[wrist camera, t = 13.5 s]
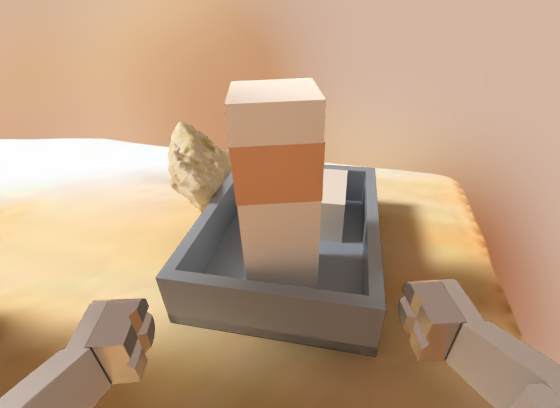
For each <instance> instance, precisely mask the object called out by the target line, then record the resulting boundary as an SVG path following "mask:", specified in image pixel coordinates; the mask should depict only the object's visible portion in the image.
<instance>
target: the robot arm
mask: <svg viewBox="0 0 560 408" xmlns="http://www.w3.org/2000/svg"><path fill="white" fill-rule="evenodd" d="M402 291H403V293H404V295H405V296H403V297H402V298H401V299H400V300H399V305H398V313H399V318H400V322H401V325H402V327H403V329H404V330H405V331H406V332H408V333H409V334H410V335H411V337H410V340H409V343H410V345H411V348H412V350H413V352H414V354H415V357H416V359H417V361H418V362H428V361H446V363H447V364H448V365H449V366H450V367H451V368H452V369H453V370H454V371H455V372H456V373H457V374H458V375H459V376H461V377H462V378H463V379H464V380H465V381H466V382H467V383H468V384H469V385H470V386H471V387H472V388H473V389H474V390H475V391H477V392H478V393H479V394H480V395H481V396H482V397H483V398H484V399H485V400H486V401H487V402H488V403H489V404H490V405H492V406H493V407H494V408H560V365H559V364H557V363H555V362H554V361H552V360H551V359H549V358H547V357H546V356H544V355H543V354H541V353H540V352H538V351H536V350H535V349H533V348H532V347H530V346H529V345H527V344H525V343H524V342H522V341H521V340H519V339H518V338H516V337H514V336H513V335H511V334H510V333H508V332H507V331H505V330H503V329H502V328H500V327H499V326H497V325H495V324H494V323H492V322H491V321H485V320H484V318H483V317H482V316H481V314H480V313H479V311H478V310H477V309H476V307H475V306H474V304H473V303H472V301H471V300H470V299H469V297H468V296H467V294H466V293H465V291H464V290H463V289H462V287H461V286H460V284H459V283H458V282H457V281H456V280H455V279H441V280H424V281H411V282H406V283H405V284H404V286H403V289H402ZM148 307H149V305H148V303H147V301H146V299H117V300H97V301H93V302H92V303H91V304H89V306H88V308H87V309H86V311H85V313H84V315H83V317H82V319H81V320H80V322H79V324H78V326H77V328H76V330H75V332H74V333H73V335H72V337H71V339H70V341H69V343H68V345H67V346H66V348H65V350H59V351H58V352H57V353H55V354H54V355H53V356H52V357H50V358H49V359H48V360H47V361H45V362H44V363H43V364H42V365H40V366H39V367H38V368H37V369H35V370H34V371H33V372H32V373H30V374H29V375H28V376H27V377H25V378H24V379H23V380H22V381H20V382H19V383H18V384H17V385H15V386H14V387H13V388H12V389H10V390H9V391H8V392H7V393H5V394H4V395H3V396H2V397H0V408H94V407H95V405H96V404H97V403H98V402H99V401H100V400H101V398H102V397H103V396H104V395H105V394H106V392H107V391H108V390H109V389H110V388H111V387H112V384H122V383H132V382H141V380H142V377H143V373H144V370H145V367H146V363H147V358H146V355H145V352H146V351H147V350H148V349H149V348H150V347H151V346H152V343H153V339H154V332H155V324H154V319H153V316H152V315H151V314H149V313H148V312H147V310H148Z"/></svg>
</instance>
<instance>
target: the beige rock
mask: <svg viewBox="0 0 560 408" xmlns="http://www.w3.org/2000/svg"><path fill="white" fill-rule="evenodd" d="M171 140H172V141H171V143H170V146H169V152H168V158H169V168H168V170H169V172H170V174H171V187H172V188H173V189H174V190H176V191H177V192H178V193H181V194H182V195H184V196H185V197H186V198H188V199H189V200H191V201H192V203H193V204H194V205H195V207H197V208H198V209H200V210H202V211H204V209H205V208H206V207H207V205H208V204H209V202H210V201H211V200H212V198H213V197H214V194H215V193H217V191H218V190H219V188H220V187H221V186H222V184H223V183H224V181H225V180H226V179H227V177H228V176H229V174H230V173H231V172H232V170H231V162H230V154H229V150H225V151H220V149H219V148H218V147H217V146H216V145H215V144H214V143H213V142H212V141H211V140H210V139H208V137H207V136H206V135H205V134H203V133H202V132H200V131H197V130H196V129H195V128H194V127H193V126H192V125H189V124H186V123H184V122H179V123H178V124H177V126H176V128H175V130H174V131H173V133H172V135H171Z"/></svg>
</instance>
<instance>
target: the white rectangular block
mask: <svg viewBox="0 0 560 408" xmlns="http://www.w3.org/2000/svg"><path fill="white" fill-rule="evenodd" d="M347 173H348V170H335V169H324V174H323V196H322V201H321V221H320V241H328V242H337V243H342V234H343V223H344V212H345V200H346V186H347Z"/></svg>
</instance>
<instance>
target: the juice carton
mask: <svg viewBox="0 0 560 408" xmlns="http://www.w3.org/2000/svg"><path fill="white" fill-rule="evenodd" d="M224 106H225V114H226V122H227V129H228V138H229V154H230V162H231V170H232V178H233V185H234V193H235V201H236V206H237V210H238V218H239V226H240V234H241V242H242V250H243V258H244V266H245V274H246V279H248V280H255V281H262V282H270V283H277V284H285V285H292V286H300V287H307V288H315V289H318V266H319V243H320V221H321V201H322V196H323V174H324V152H325V142H324V128H325V106H326V99H325V97H324V96H323V94H322V93H321V91H320V90H319V88H318V87H317V85H316V83H315V82H314V81H313V79H312V78H297V79H276V80H253V81H232V82H231V85H230V88H229V91H228V94H227V97H226V100H225V104H224Z"/></svg>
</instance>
